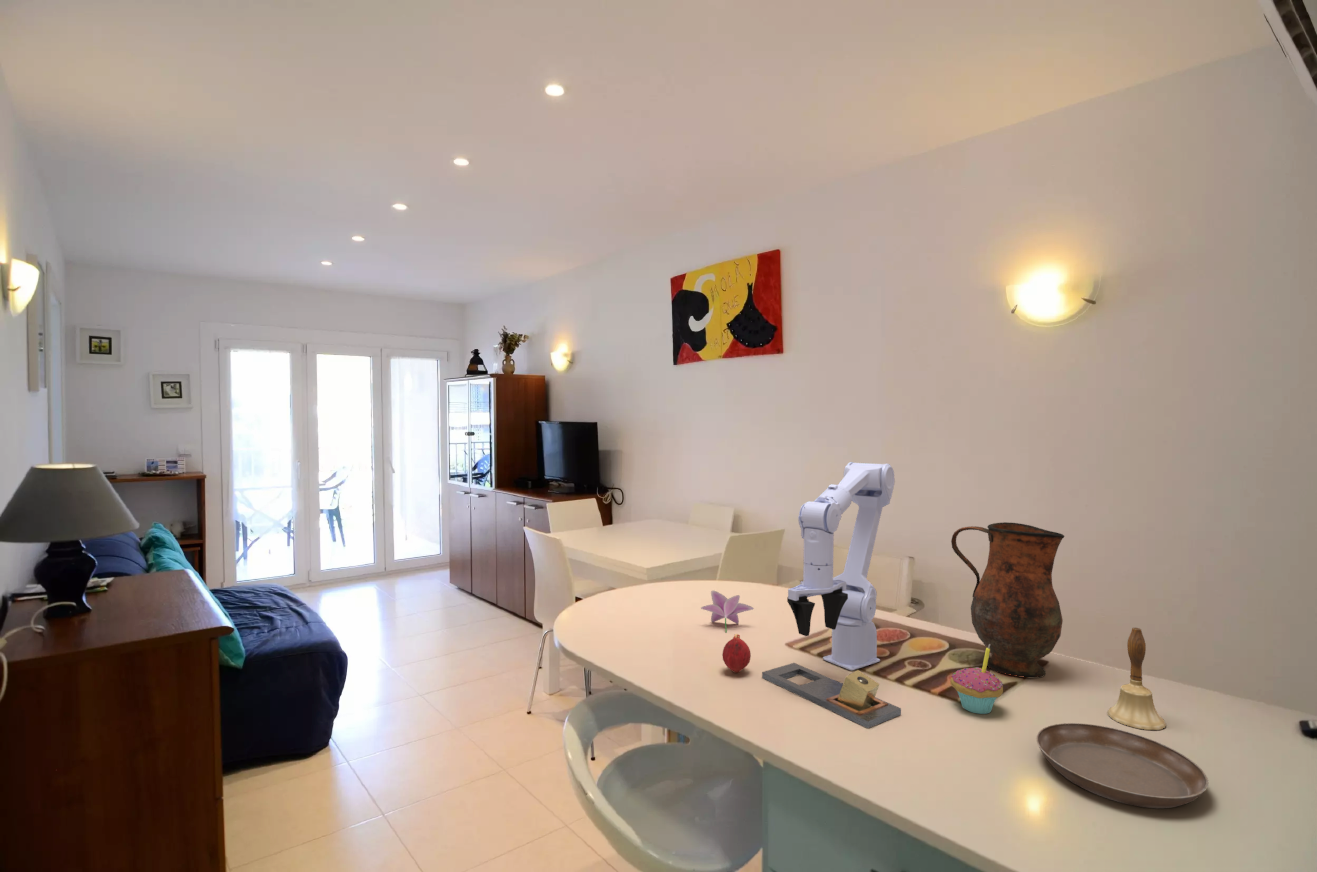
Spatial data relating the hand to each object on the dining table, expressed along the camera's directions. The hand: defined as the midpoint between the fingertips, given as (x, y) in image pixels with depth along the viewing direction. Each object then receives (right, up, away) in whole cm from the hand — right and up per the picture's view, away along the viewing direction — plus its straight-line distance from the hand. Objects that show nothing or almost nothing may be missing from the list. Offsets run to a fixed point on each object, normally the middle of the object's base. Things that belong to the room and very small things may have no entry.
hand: (817, 631), depth 130 cm
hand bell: (+52, -11, -15) cm, 55 cm away
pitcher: (+42, -10, +9) cm, 44 cm away
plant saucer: (+36, -12, -33) cm, 50 cm away
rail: (+1, -11, -5) cm, 12 cm away
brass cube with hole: (+4, -10, -11) cm, 15 cm away
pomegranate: (-15, -11, +6) cm, 19 cm away
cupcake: (+26, -11, -11) cm, 30 cm away
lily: (-14, -10, +35) cm, 39 cm away
